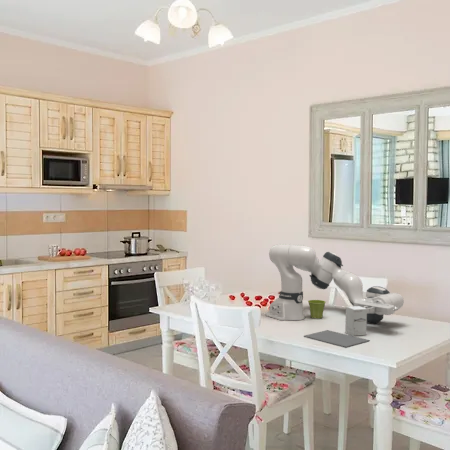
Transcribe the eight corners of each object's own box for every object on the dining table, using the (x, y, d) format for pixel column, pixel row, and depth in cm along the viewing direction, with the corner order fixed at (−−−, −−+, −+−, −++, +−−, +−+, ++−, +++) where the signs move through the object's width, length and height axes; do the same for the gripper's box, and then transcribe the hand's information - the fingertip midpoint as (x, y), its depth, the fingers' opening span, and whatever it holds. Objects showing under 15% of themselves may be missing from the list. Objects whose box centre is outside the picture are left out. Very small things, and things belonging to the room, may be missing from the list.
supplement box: (352, 336, 254) (353, 309, 254) (344, 332, 262) (345, 306, 261) (366, 335, 256) (367, 308, 256) (358, 331, 264) (359, 305, 263)
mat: (303, 336, 253) (303, 335, 253) (327, 331, 264) (327, 330, 264) (345, 347, 235) (345, 346, 235) (369, 341, 246) (369, 340, 246)
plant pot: (328, 318, 292) (329, 302, 291) (313, 320, 288) (313, 303, 288) (319, 315, 300) (319, 299, 300) (304, 316, 297) (304, 300, 296)
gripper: (400, 315, 262) (383, 320, 253) (363, 308, 277) (347, 313, 268) (400, 302, 261) (383, 307, 252) (363, 296, 277) (346, 300, 268)
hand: (364, 310), depth 260 cm, fingers closed
